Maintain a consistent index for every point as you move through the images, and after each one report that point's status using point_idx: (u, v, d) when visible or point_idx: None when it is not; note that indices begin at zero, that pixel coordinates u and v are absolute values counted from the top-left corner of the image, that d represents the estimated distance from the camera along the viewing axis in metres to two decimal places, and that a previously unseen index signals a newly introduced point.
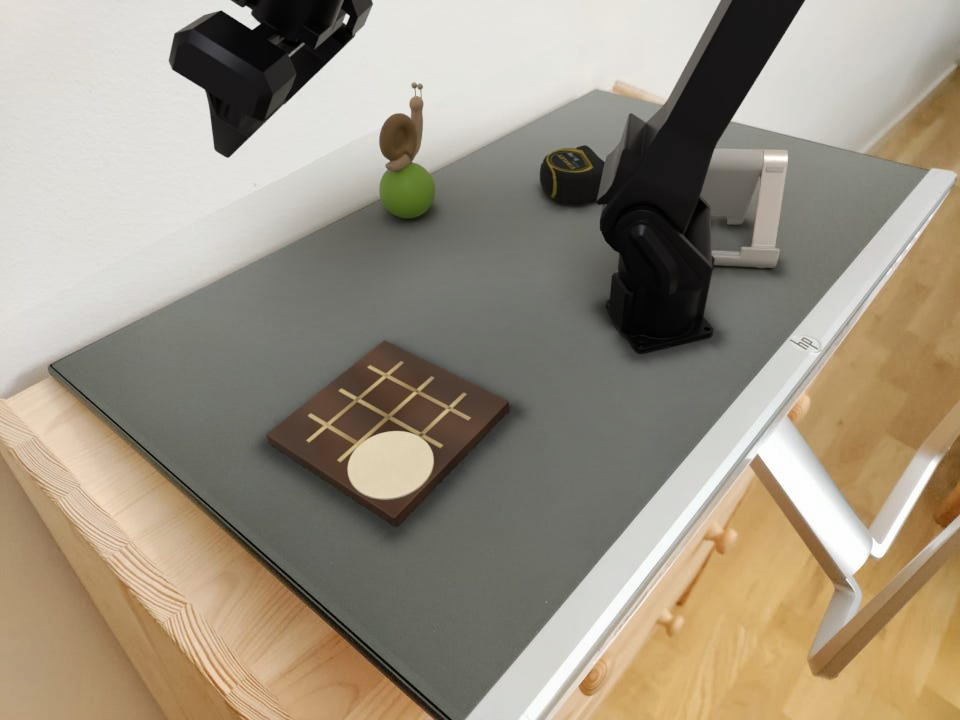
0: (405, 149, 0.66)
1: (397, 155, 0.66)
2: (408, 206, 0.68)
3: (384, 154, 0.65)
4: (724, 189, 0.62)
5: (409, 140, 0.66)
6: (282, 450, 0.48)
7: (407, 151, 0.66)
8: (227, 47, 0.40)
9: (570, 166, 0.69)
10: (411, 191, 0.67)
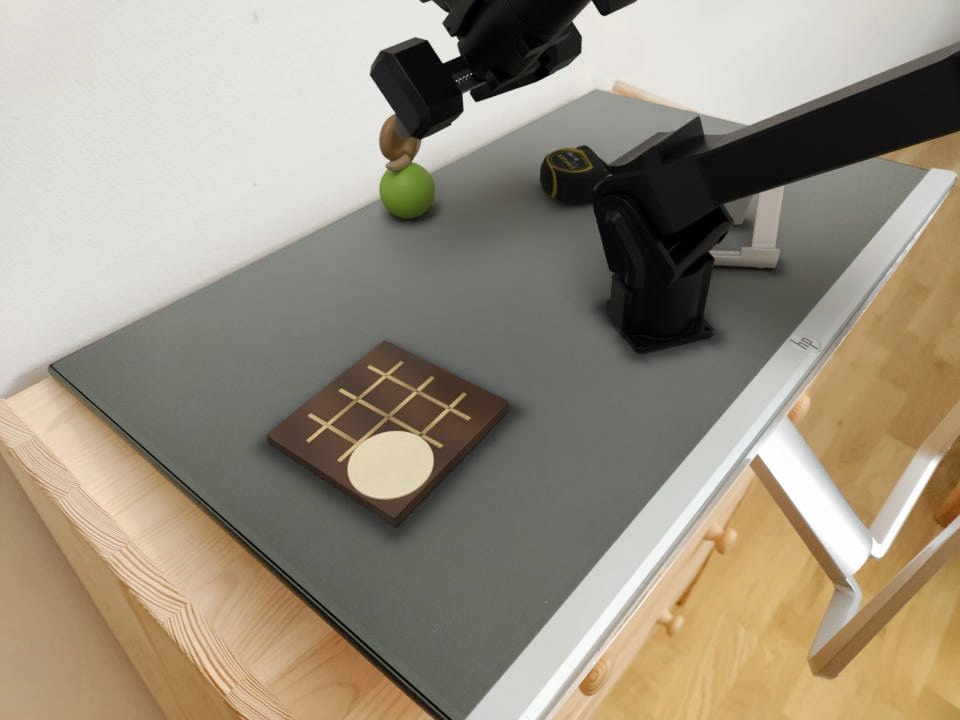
0: (405, 149, 0.66)
1: (397, 155, 0.66)
2: (408, 206, 0.68)
3: (384, 154, 0.65)
4: None
5: (409, 140, 0.66)
6: (282, 450, 0.48)
7: (407, 151, 0.66)
8: (412, 78, 0.48)
9: (570, 166, 0.69)
10: (411, 191, 0.67)
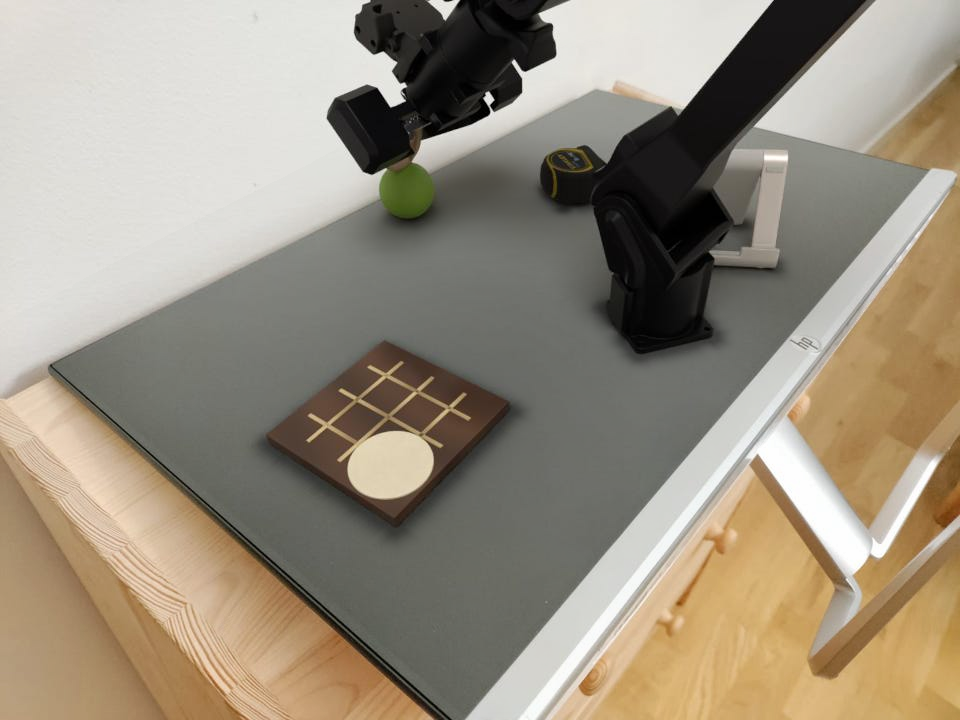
0: None
1: None
2: (408, 206, 0.68)
3: None
4: (724, 189, 0.62)
5: None
6: (282, 450, 0.48)
7: None
8: (362, 122, 0.55)
9: (570, 166, 0.69)
10: (411, 191, 0.67)
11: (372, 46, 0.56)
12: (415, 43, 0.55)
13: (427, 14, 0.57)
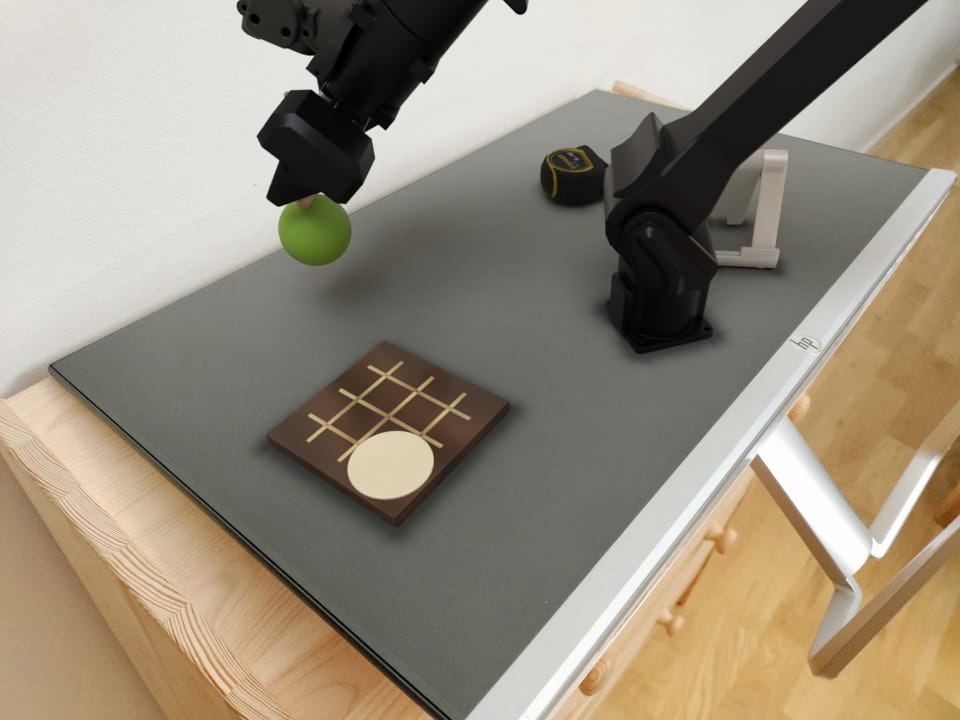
0: None
1: None
2: (335, 246, 0.52)
3: None
4: None
5: None
6: (282, 450, 0.48)
7: None
8: (325, 134, 0.40)
9: (571, 166, 0.69)
10: (334, 226, 0.52)
11: (285, 37, 0.41)
12: (343, 19, 0.41)
13: None
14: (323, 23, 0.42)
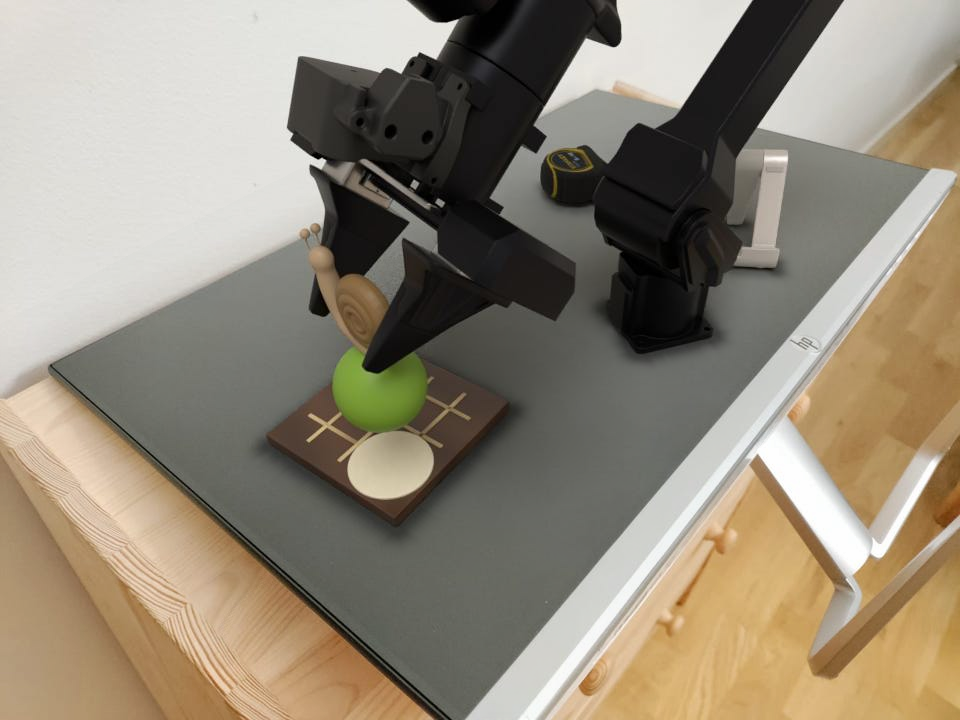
0: None
1: None
2: (426, 390, 0.41)
3: None
4: None
5: None
6: (282, 450, 0.48)
7: None
8: (543, 243, 0.30)
9: (571, 166, 0.69)
10: (420, 366, 0.40)
11: (425, 144, 0.29)
12: (460, 103, 0.32)
13: (375, 75, 0.32)
14: None
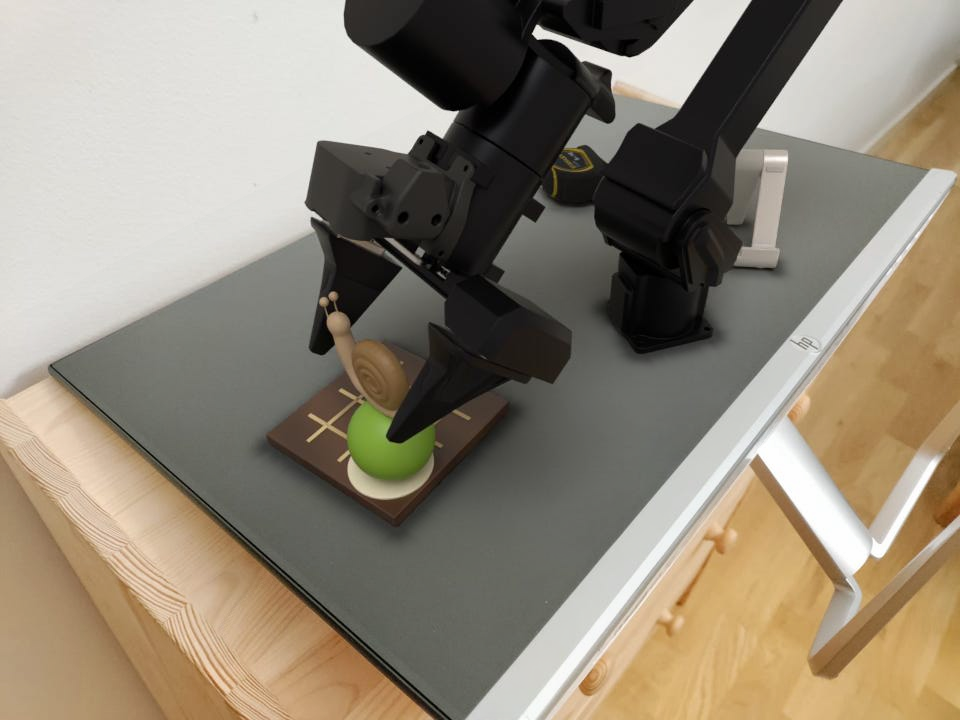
0: None
1: None
2: (434, 441, 0.44)
3: None
4: None
5: None
6: (282, 450, 0.48)
7: None
8: (542, 315, 0.33)
9: (571, 165, 0.69)
10: None
11: (434, 226, 0.32)
12: (466, 183, 0.34)
13: (387, 155, 0.35)
14: None
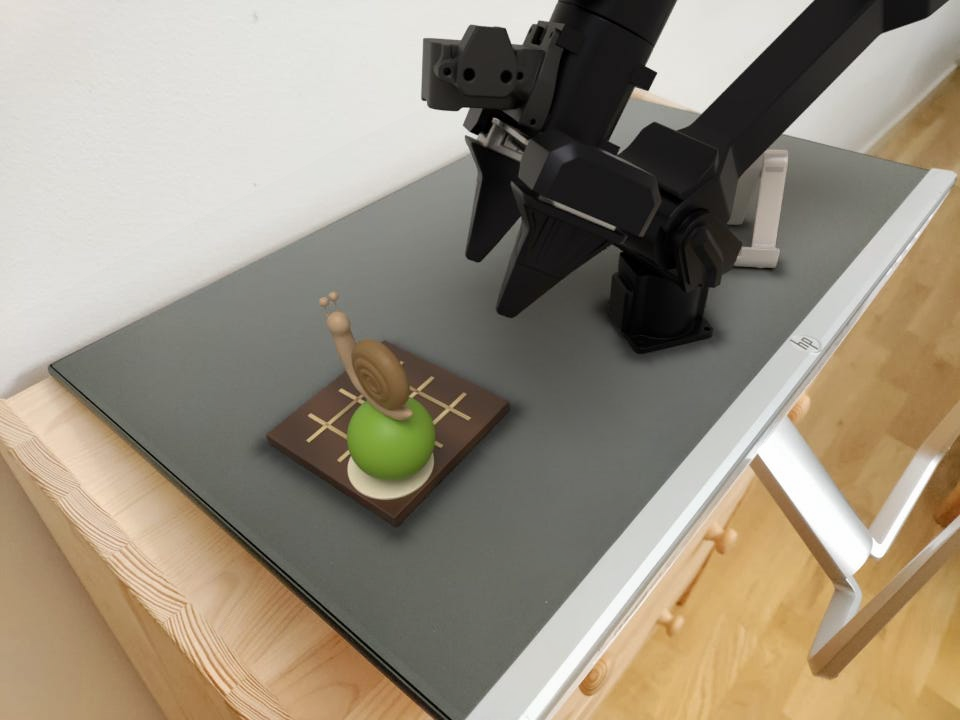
0: None
1: None
2: (434, 441, 0.44)
3: (405, 401, 0.39)
4: None
5: None
6: (282, 450, 0.48)
7: None
8: (611, 156, 0.32)
9: None
10: (429, 419, 0.43)
11: (505, 83, 0.34)
12: (551, 49, 0.35)
13: None
14: (528, 63, 0.36)
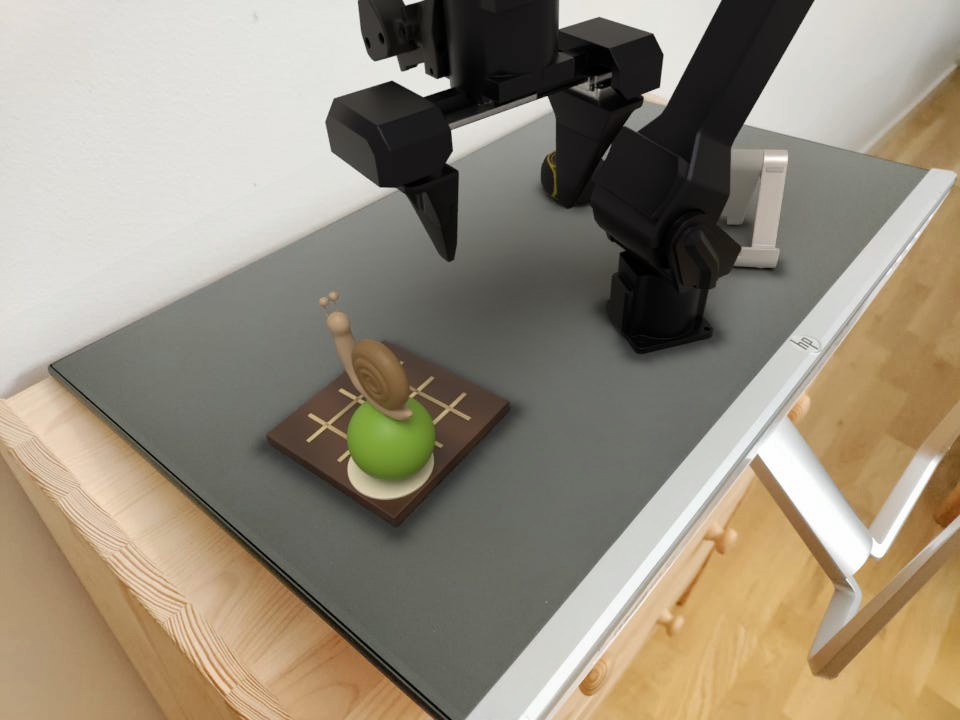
0: None
1: None
2: (434, 441, 0.44)
3: (405, 401, 0.39)
4: None
5: None
6: (282, 450, 0.48)
7: None
8: (357, 108, 0.34)
9: None
10: (429, 419, 0.43)
11: (383, 44, 0.38)
12: None
13: None
14: (423, 14, 0.37)
